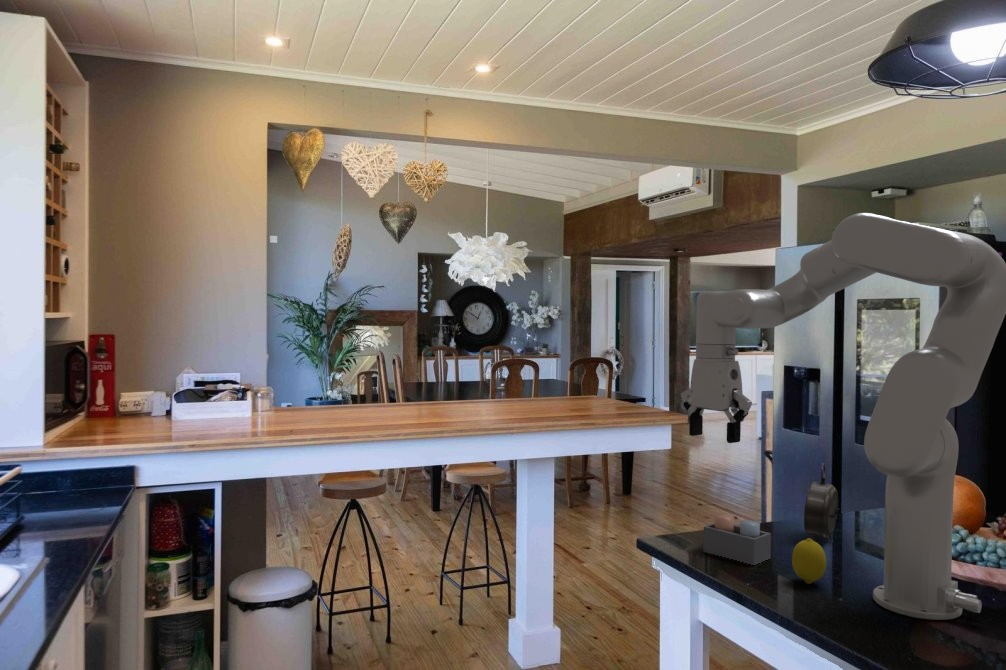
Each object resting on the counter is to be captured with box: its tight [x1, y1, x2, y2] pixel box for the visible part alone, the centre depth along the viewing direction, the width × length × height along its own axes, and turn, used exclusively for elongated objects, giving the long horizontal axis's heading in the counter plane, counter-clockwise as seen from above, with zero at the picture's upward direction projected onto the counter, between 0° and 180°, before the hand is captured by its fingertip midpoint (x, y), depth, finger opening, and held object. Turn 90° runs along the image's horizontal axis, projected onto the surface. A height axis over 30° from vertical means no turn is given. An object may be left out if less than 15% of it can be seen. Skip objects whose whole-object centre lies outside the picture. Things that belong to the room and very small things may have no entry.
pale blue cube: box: [739, 519, 761, 538], centre depth 141 cm, size 4×4×4 cm
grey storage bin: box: [703, 522, 772, 566], centre depth 143 cm, size 11×6×5 cm, turn 41°
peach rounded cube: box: [714, 513, 735, 533], centre depth 145 cm, size 4×4×4 cm
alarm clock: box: [803, 462, 840, 543], centre depth 152 cm, size 11×5×16 cm, turn 144°
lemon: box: [791, 537, 827, 585], centre depth 128 cm, size 6×6×8 cm
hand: (714, 438), depth 147 cm, fingers open, 9 cm apart
